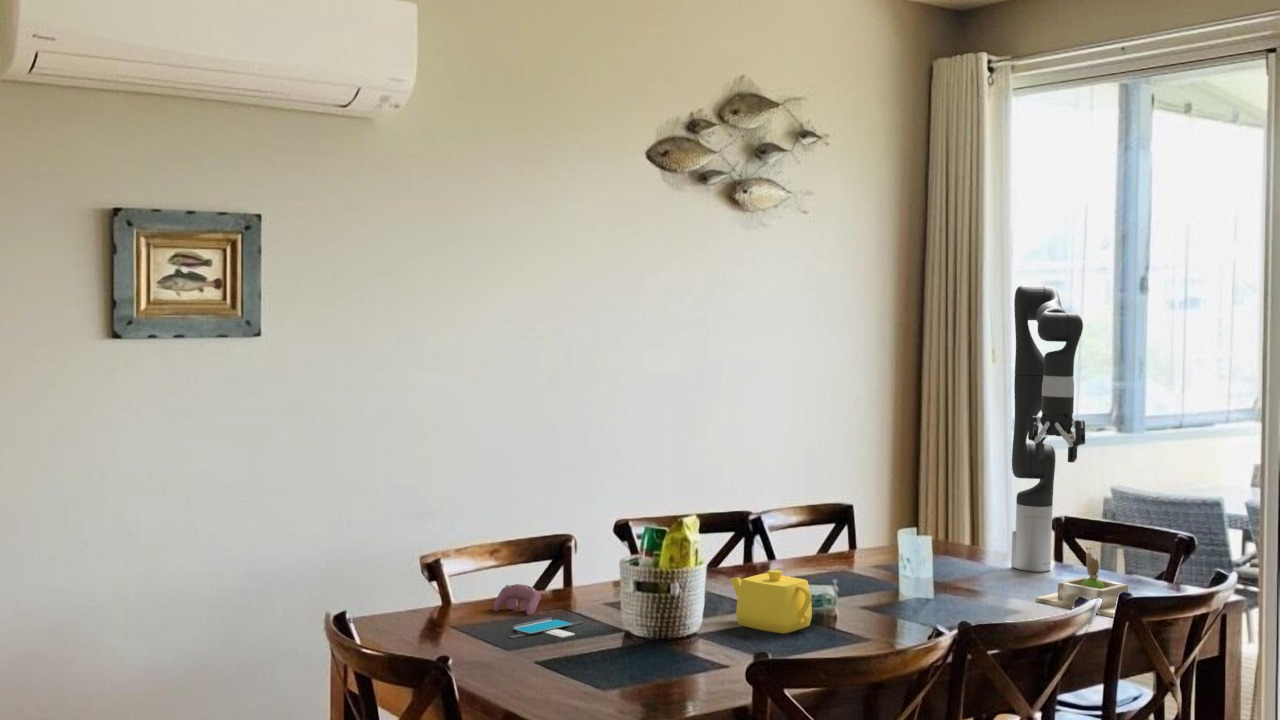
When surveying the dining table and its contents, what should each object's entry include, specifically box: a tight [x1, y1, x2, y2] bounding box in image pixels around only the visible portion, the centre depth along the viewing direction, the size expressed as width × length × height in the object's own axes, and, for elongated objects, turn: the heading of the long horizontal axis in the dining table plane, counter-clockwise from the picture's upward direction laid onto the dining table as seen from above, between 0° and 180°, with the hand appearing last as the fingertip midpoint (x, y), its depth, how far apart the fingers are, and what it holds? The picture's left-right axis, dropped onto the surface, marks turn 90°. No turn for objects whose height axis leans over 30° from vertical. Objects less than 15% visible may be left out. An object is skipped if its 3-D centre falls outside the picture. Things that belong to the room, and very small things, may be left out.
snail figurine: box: [1081, 546, 1105, 589], centre depth 317 cm, size 5×6×12 cm
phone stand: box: [508, 617, 584, 639], centre depth 282 cm, size 20×12×2 cm, turn 136°
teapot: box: [730, 569, 813, 634], centre depth 292 cm, size 20×12×12 cm, turn 51°
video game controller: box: [492, 583, 542, 616], centre depth 300 cm, size 10×5×7 cm, turn 66°
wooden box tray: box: [1035, 576, 1129, 618], centre depth 317 cm, size 20×16×5 cm
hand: (1055, 460), depth 332 cm, fingers open, 8 cm apart
